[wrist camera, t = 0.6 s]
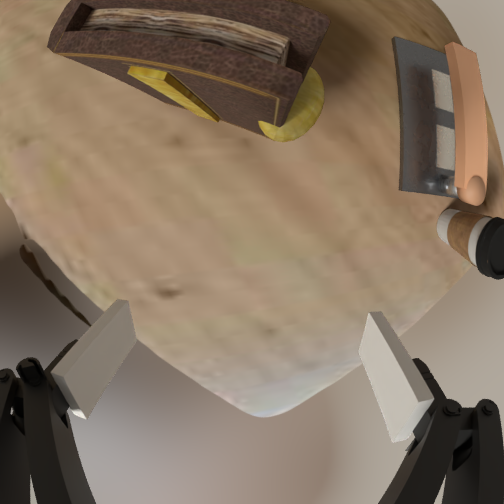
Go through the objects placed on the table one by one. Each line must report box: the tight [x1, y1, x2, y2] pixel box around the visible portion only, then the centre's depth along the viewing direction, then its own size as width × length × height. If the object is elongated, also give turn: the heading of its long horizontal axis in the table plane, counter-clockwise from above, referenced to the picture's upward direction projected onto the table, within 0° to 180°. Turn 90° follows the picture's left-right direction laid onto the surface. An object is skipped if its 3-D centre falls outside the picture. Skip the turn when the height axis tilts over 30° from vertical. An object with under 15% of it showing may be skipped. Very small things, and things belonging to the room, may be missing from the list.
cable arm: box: [445, 42, 488, 206], centre depth 24 cm, size 24×5×3 cm, turn 0°
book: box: [47, 0, 331, 142], centre depth 22 cm, size 22×8×25 cm, turn 67°
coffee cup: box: [437, 209, 504, 280], centre depth 30 cm, size 8×8×15 cm
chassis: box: [392, 36, 459, 198], centre depth 29 cm, size 26×14×7 cm, turn 0°
